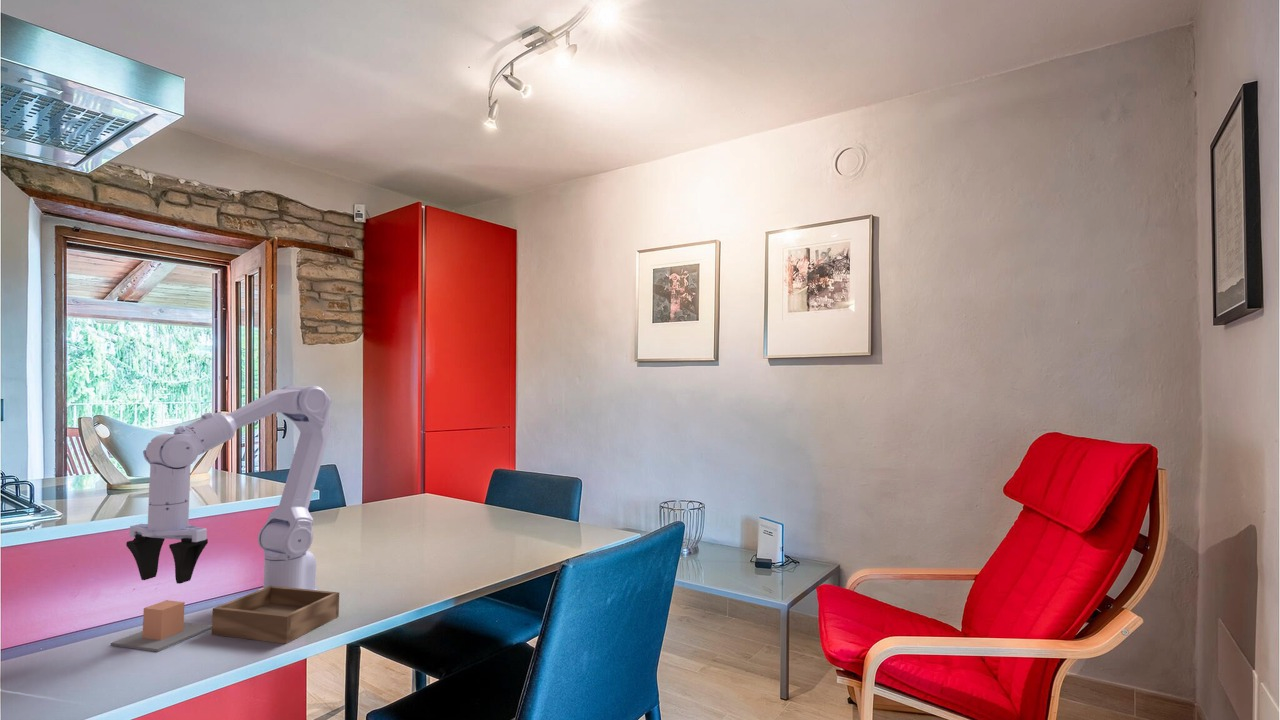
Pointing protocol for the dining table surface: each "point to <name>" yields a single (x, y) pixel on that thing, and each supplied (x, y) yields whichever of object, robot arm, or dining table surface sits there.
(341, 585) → the dining table surface
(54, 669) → the dining table surface
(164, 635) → the terracotta block
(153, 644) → the slate mat
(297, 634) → the walnut box
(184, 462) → the robot arm
